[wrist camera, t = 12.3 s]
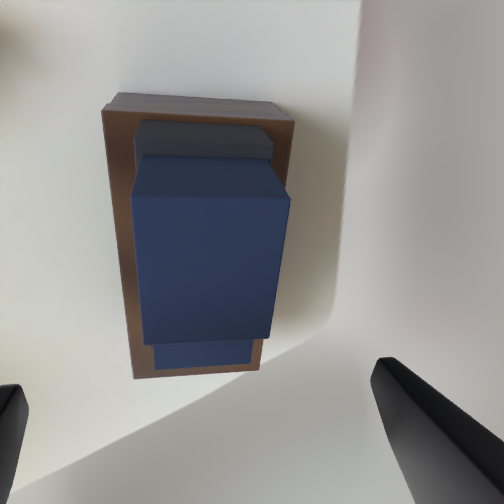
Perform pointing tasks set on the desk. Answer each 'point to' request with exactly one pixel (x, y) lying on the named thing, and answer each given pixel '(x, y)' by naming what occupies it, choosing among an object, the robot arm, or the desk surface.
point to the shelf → (122, 179)
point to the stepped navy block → (206, 240)
